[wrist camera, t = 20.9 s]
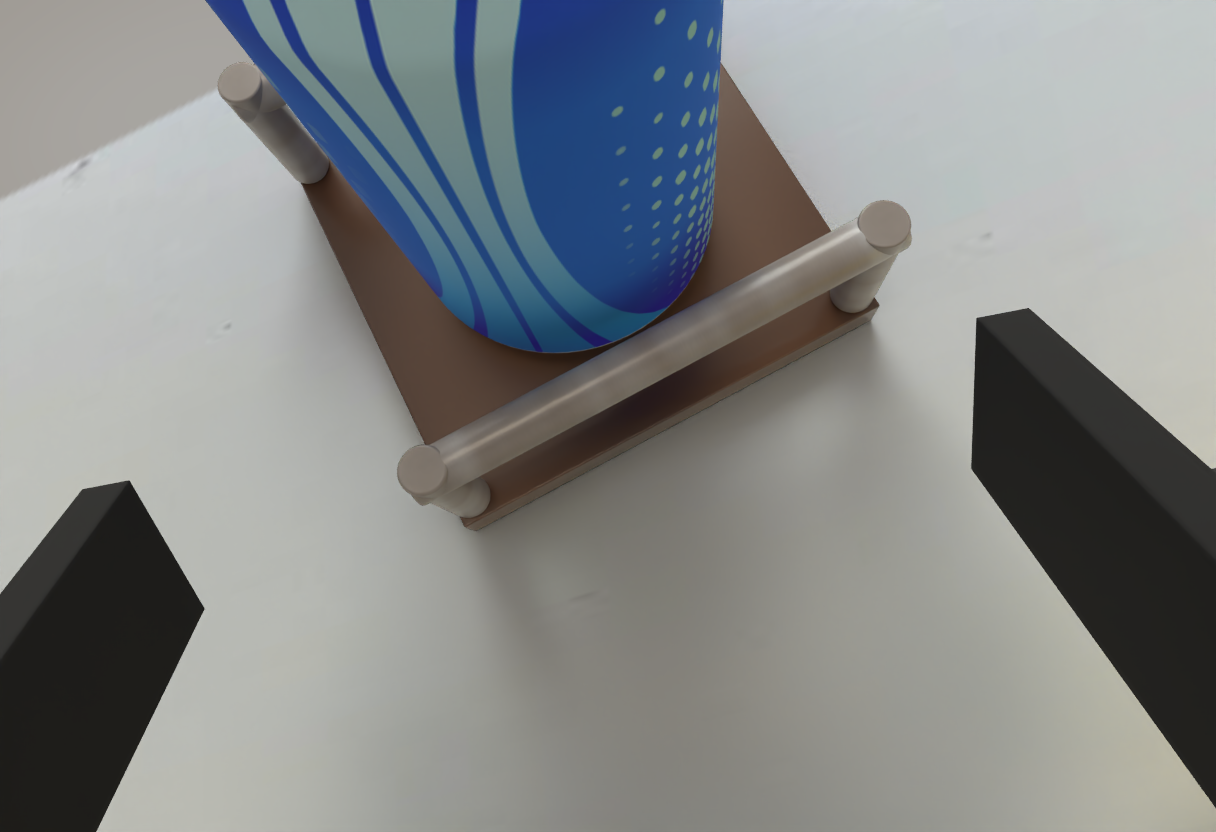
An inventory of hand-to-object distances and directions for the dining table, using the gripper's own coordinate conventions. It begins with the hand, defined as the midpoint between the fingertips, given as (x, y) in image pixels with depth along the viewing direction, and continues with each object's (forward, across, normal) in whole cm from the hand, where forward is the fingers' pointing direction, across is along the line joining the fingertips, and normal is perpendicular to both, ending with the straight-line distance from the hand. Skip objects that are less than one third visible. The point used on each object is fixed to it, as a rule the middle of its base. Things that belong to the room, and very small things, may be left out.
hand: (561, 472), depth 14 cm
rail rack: (+14, 0, -2) cm, 14 cm away
